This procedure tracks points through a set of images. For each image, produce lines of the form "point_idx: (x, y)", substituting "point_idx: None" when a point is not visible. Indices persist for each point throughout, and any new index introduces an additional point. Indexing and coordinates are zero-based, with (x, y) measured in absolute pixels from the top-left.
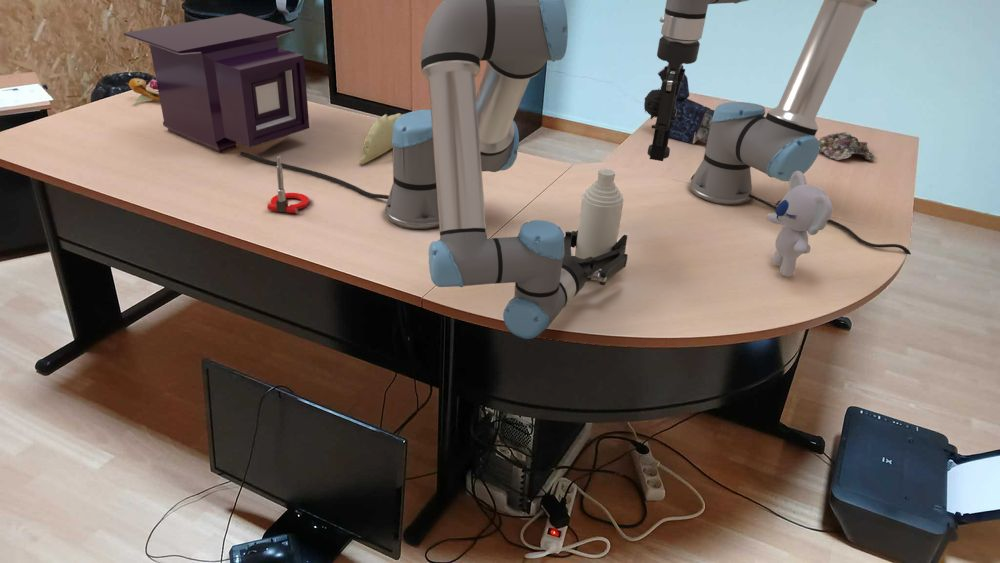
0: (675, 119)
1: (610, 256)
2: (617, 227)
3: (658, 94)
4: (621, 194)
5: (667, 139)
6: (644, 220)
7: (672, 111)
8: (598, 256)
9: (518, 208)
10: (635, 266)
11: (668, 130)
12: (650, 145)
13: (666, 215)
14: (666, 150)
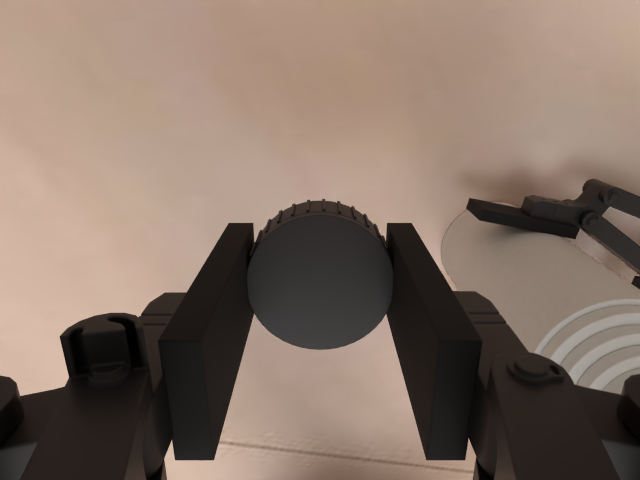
0: (143, 329)
1: (622, 233)
2: (589, 259)
3: None
4: (601, 321)
5: (236, 267)
6: (145, 165)
7: (131, 453)
8: (636, 264)
9: (249, 453)
10: (435, 148)
11: (479, 343)
12: (308, 343)
13: (69, 104)
14: (353, 235)
